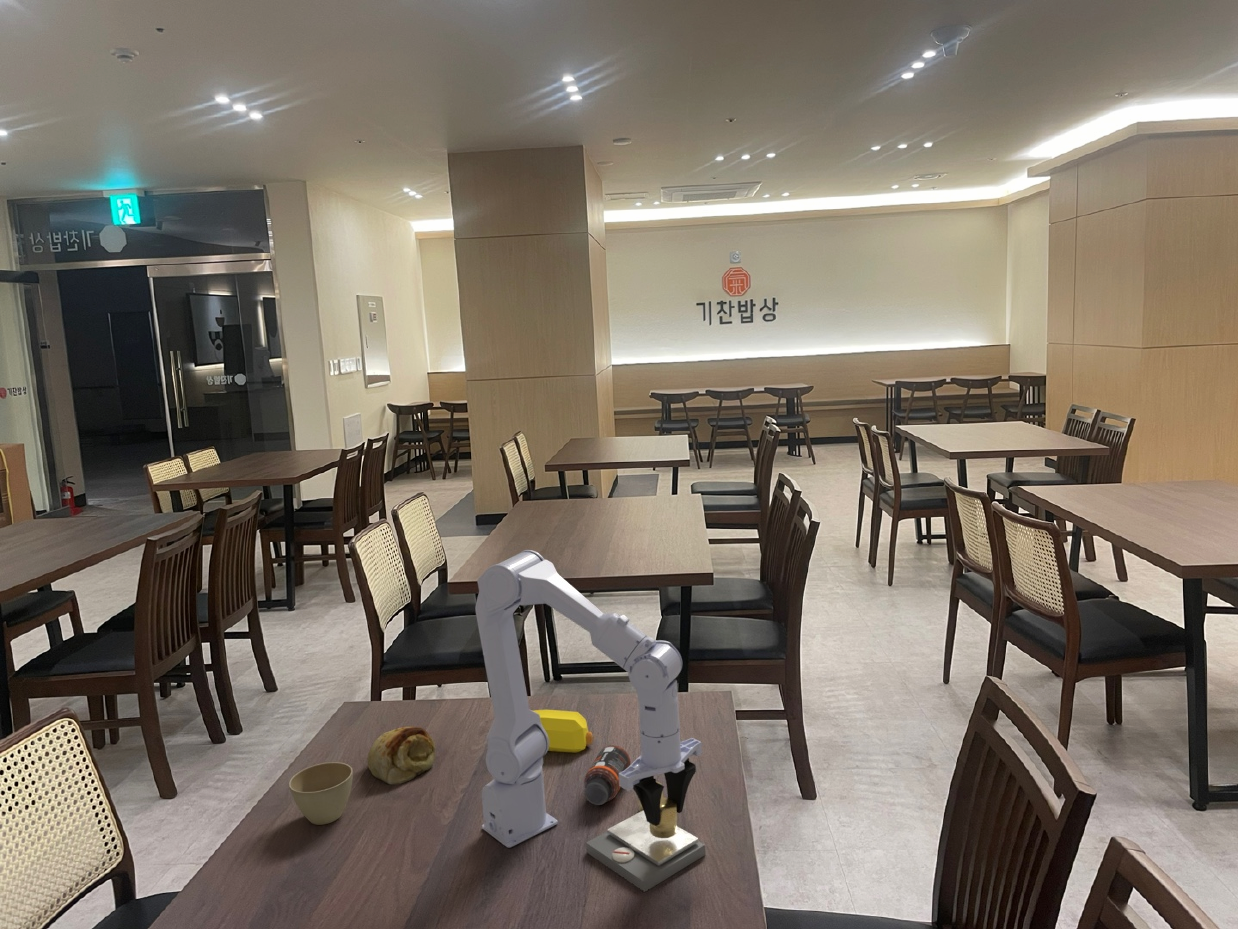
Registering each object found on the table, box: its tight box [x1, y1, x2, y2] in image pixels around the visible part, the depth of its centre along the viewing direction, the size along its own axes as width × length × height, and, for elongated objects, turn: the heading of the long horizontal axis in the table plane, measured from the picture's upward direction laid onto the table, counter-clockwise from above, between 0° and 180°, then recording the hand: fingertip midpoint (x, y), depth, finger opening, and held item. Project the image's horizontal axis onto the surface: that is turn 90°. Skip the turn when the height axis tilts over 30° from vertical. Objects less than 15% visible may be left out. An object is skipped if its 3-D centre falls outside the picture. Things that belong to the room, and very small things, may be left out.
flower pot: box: [288, 761, 354, 826], centre depth 144 cm, size 10×10×7 cm
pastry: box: [366, 726, 436, 785], centre depth 160 cm, size 14×12×8 cm
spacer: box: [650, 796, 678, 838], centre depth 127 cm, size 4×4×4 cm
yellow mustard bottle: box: [532, 709, 594, 754], centre depth 164 cm, size 18×7×8 cm
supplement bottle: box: [583, 744, 632, 806], centre depth 146 cm, size 6×6×11 cm
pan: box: [606, 810, 700, 866], centre depth 130 cm, size 8×11×1 cm
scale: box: [585, 831, 706, 893], centre depth 129 cm, size 12×13×2 cm
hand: (664, 816), depth 127 cm, fingers closed on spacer, 4 cm apart
